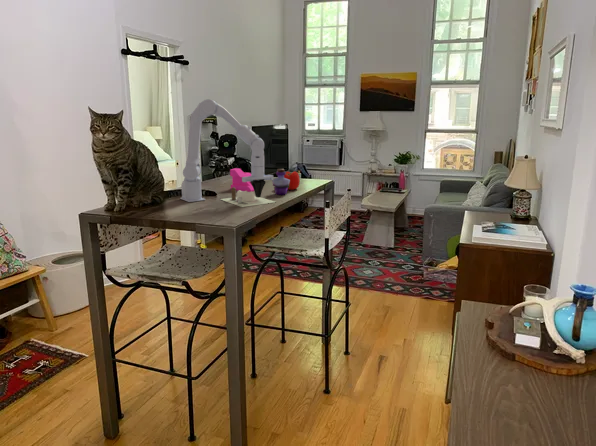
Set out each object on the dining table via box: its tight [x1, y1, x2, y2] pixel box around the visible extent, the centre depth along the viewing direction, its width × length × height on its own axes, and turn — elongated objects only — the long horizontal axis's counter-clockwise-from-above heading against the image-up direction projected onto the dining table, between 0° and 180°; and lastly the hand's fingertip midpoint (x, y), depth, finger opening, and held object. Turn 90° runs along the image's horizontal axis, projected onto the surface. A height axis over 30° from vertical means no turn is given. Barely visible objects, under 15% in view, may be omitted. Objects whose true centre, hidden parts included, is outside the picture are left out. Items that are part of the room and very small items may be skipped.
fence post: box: [230, 187, 237, 200], centre depth 197 cm, size 2×2×6 cm
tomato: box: [284, 171, 301, 191], centre depth 226 cm, size 11×12×9 cm
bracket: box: [229, 167, 256, 192], centre depth 225 cm, size 12×10×10 cm
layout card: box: [219, 194, 276, 208], centre depth 197 cm, size 19×17×1 cm
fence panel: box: [236, 190, 255, 202], centre depth 195 cm, size 8×1×4 cm, turn 67°
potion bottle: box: [271, 168, 290, 196], centre depth 212 cm, size 9×9×12 cm
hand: (258, 197), depth 199 cm, fingers closed
